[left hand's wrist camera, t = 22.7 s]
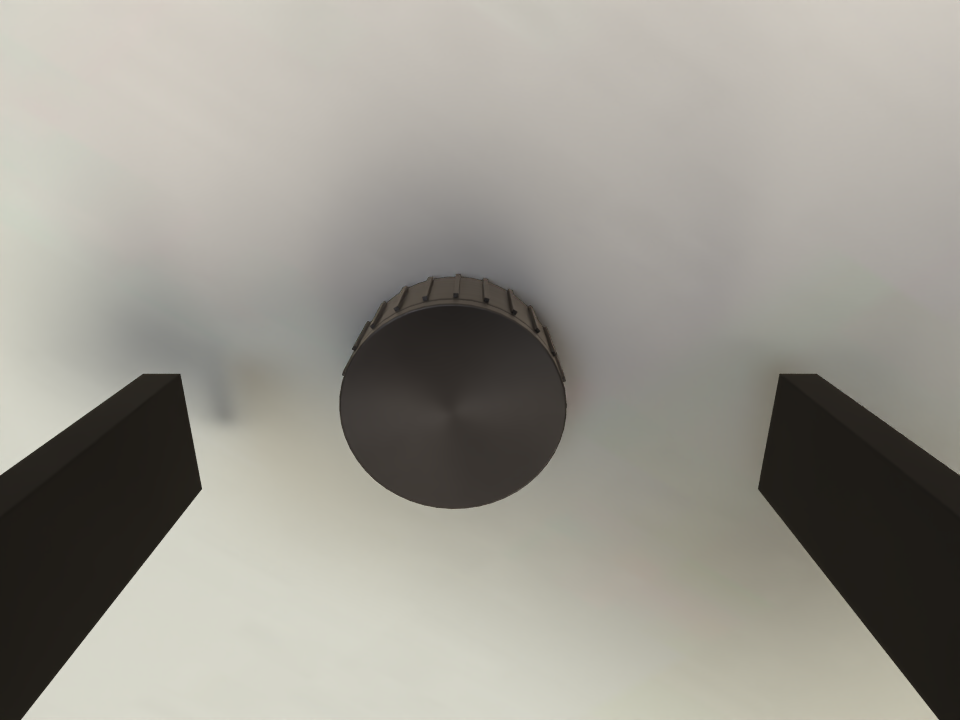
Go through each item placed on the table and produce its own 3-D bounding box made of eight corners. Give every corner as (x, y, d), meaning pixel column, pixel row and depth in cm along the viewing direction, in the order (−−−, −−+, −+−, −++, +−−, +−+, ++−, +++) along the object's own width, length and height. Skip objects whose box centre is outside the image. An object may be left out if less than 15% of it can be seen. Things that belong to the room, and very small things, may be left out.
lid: (403, 481, 16) (392, 538, 14) (322, 315, 14) (294, 350, 12) (580, 422, 15) (598, 472, 13) (516, 242, 14) (525, 264, 11)
